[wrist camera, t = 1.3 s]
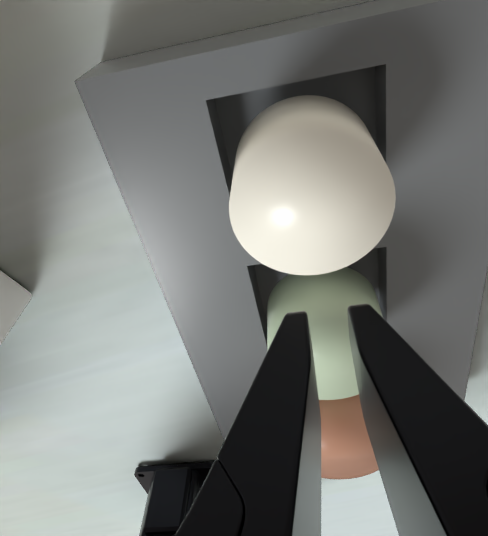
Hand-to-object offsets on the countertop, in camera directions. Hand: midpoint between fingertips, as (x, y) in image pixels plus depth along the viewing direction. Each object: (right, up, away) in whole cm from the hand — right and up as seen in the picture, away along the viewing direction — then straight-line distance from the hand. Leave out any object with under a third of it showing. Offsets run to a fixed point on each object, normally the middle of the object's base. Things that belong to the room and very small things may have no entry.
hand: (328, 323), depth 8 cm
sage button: (+2, -1, +10) cm, 10 cm away
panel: (+2, +1, +12) cm, 12 cm away
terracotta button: (+3, -6, +14) cm, 15 cm away
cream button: (0, +5, +6) cm, 7 cm away
